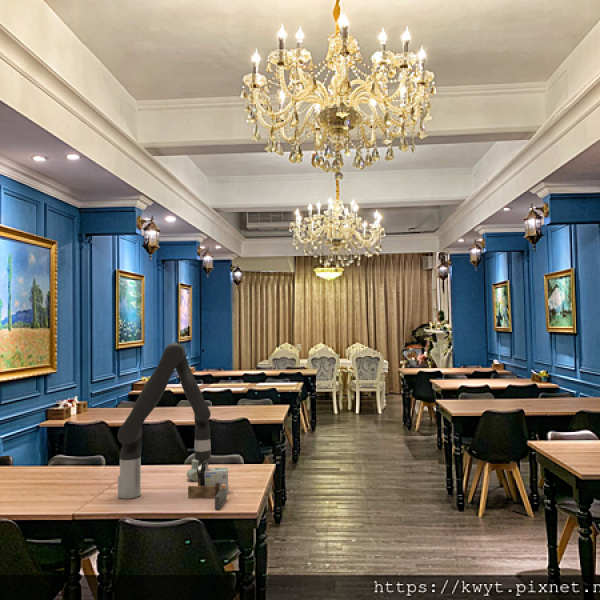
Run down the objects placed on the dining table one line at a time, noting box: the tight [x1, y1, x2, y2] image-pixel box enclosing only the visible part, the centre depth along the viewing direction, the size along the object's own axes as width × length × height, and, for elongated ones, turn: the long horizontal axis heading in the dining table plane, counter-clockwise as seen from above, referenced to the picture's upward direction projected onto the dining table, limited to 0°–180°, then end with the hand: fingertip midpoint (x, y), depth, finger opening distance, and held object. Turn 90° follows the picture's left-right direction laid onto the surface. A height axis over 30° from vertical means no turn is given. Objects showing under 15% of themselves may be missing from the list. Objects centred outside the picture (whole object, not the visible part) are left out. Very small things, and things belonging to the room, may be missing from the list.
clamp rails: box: [187, 478, 220, 499], centre depth 252 cm, size 14×18×6 cm
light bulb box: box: [205, 466, 229, 495], centre depth 251 cm, size 11×7×11 cm, turn 97°
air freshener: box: [186, 458, 199, 482], centre depth 275 cm, size 11×8×10 cm
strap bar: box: [214, 484, 228, 510], centre depth 234 cm, size 2×14×6 cm, turn 176°
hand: (202, 486), depth 253 cm, fingers closed
